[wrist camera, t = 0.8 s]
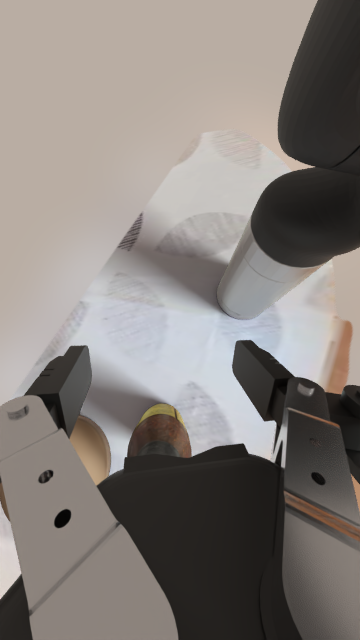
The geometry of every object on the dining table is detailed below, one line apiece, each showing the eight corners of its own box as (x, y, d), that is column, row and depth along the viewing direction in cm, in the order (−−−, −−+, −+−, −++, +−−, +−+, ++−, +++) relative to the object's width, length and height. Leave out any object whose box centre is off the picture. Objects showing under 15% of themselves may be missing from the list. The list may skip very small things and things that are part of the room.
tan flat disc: (70, 395, 32) (60, 397, 29) (129, 459, 30) (125, 468, 27) (-3, 469, 29) (-22, 478, 26) (57, 546, 27) (42, 566, 24)
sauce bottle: (133, 429, 31) (68, 505, 12) (159, 393, 32) (138, 410, 13) (167, 459, 30) (157, 594, 11) (193, 420, 31) (222, 481, 12)
